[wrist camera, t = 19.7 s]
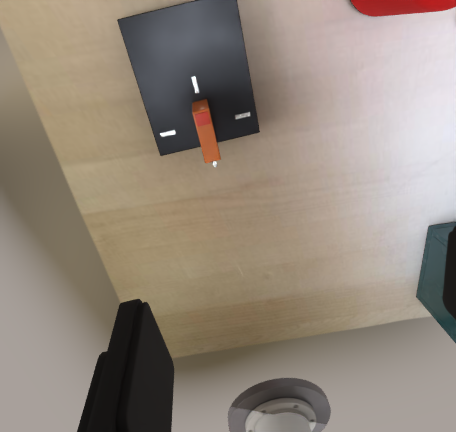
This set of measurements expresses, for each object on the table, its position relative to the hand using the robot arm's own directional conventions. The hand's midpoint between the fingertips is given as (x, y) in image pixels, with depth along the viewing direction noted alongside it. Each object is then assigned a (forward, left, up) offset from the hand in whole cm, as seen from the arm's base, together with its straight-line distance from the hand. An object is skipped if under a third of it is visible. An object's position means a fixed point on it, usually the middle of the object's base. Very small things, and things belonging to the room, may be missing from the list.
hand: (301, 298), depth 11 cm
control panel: (+1, +3, -28) cm, 29 cm away
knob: (-1, +2, -26) cm, 26 cm away
